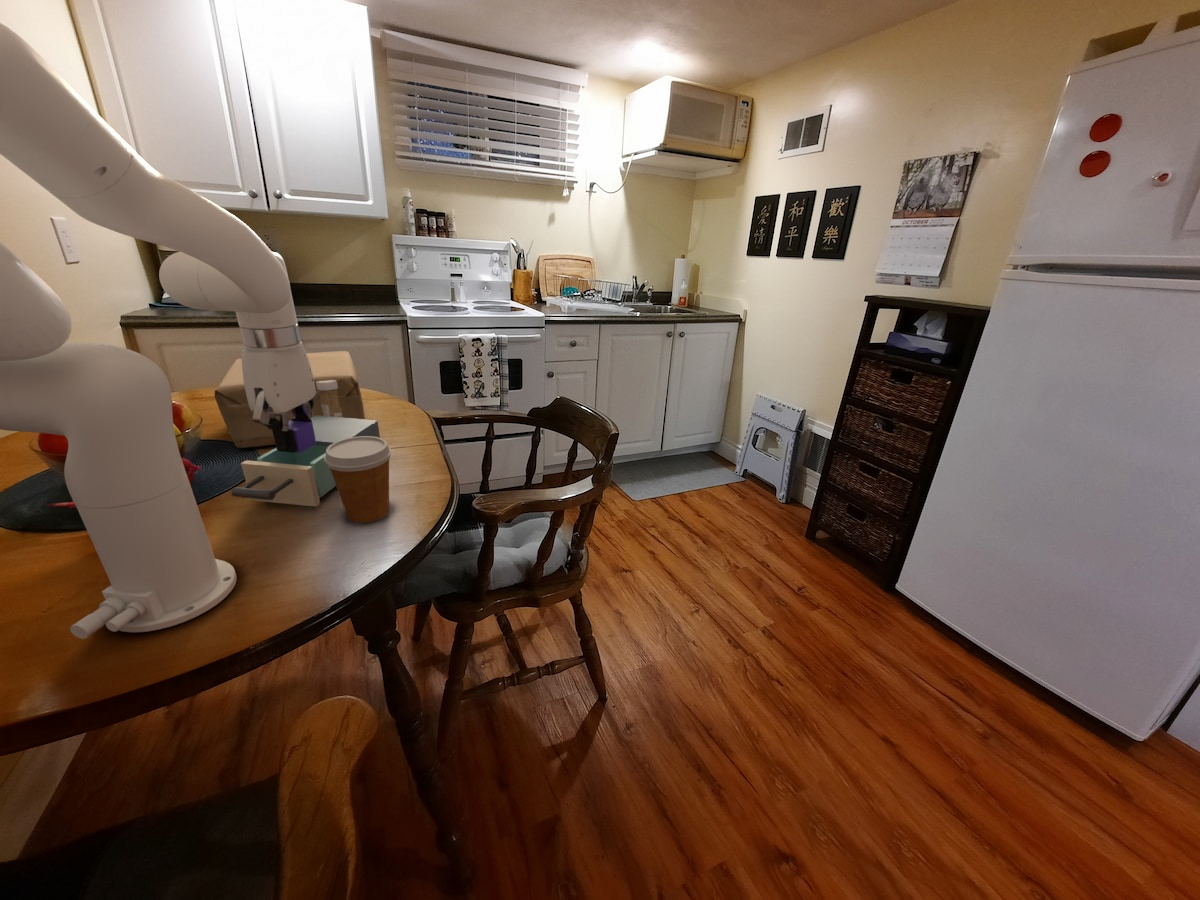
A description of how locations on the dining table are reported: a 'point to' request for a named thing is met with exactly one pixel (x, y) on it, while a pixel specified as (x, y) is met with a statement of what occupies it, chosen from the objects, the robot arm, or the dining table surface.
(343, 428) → the drawer cabinet
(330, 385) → the sprinkles bottle
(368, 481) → the disposable coffee cup
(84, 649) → the dining table surface
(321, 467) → the drawer
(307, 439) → the cube
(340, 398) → the paper package
